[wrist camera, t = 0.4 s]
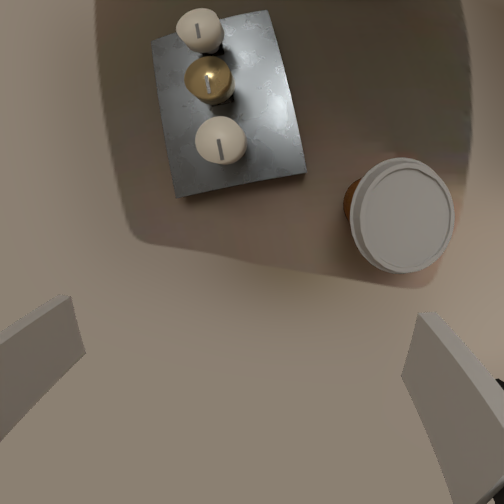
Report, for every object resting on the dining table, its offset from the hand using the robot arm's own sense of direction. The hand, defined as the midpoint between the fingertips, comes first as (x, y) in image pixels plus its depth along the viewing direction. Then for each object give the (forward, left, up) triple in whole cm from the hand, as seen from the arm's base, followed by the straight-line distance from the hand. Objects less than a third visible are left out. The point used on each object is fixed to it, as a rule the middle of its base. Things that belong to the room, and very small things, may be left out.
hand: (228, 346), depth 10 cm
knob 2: (-8, -5, -21) cm, 23 cm away
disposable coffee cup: (-5, +11, -25) cm, 28 cm away
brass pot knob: (-14, -7, -21) cm, 26 cm away
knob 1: (-19, -9, -21) cm, 30 cm away
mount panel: (-14, -7, -25) cm, 29 cm away
